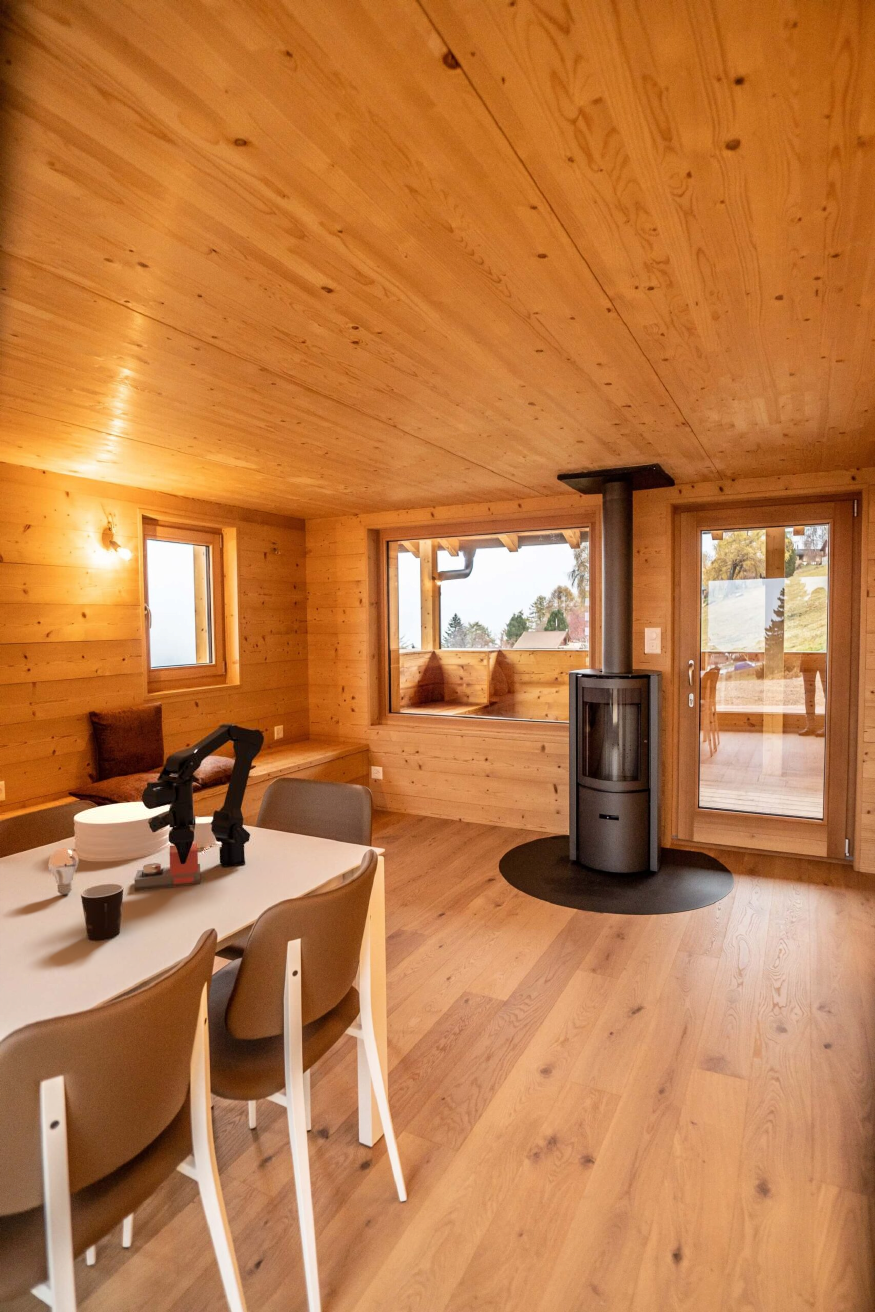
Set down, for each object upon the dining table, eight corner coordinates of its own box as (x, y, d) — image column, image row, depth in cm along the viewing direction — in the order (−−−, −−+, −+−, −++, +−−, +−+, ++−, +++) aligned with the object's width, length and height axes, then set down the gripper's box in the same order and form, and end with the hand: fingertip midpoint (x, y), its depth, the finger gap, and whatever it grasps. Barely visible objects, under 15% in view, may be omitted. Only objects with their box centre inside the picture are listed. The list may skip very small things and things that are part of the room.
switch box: (200, 874, 202) (199, 863, 202) (199, 884, 194) (199, 873, 194) (137, 881, 197) (137, 870, 197) (134, 891, 189) (134, 880, 189)
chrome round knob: (161, 870, 197) (161, 862, 197) (160, 875, 193) (160, 867, 193) (144, 872, 196) (143, 864, 196) (142, 877, 192) (142, 869, 192)
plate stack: (140, 831, 250) (138, 798, 249) (190, 844, 233) (189, 808, 233) (57, 852, 227) (56, 815, 227) (106, 867, 210) (105, 828, 210)
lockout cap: (197, 864, 201) (197, 843, 201) (198, 872, 194) (197, 850, 194) (170, 867, 199) (170, 846, 199) (170, 875, 192) (169, 853, 192)
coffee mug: (91, 928, 166) (89, 884, 165) (130, 926, 166) (129, 882, 166) (69, 950, 154) (68, 903, 154) (112, 948, 155) (110, 901, 154)
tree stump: (167, 843, 236) (167, 818, 235) (228, 833, 245) (228, 809, 245) (179, 858, 218) (178, 832, 218) (244, 848, 228) (243, 822, 228)
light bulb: (67, 900, 184) (65, 853, 183) (43, 899, 185) (41, 852, 185) (86, 891, 191) (84, 845, 190) (62, 889, 192) (60, 844, 192)
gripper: (152, 796, 203) (154, 852, 203) (146, 811, 185) (148, 873, 185) (194, 793, 206) (196, 848, 207) (193, 807, 188) (195, 867, 189)
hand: (183, 858), depth 197 cm, fingers open, 9 cm apart
